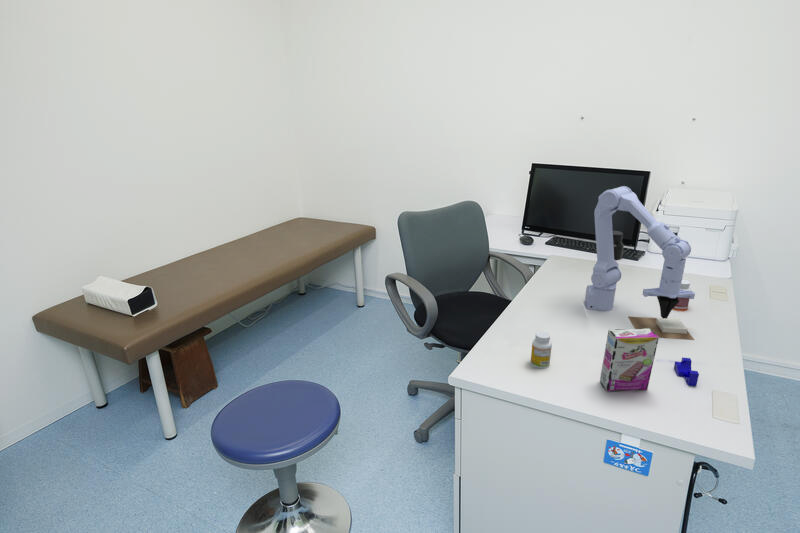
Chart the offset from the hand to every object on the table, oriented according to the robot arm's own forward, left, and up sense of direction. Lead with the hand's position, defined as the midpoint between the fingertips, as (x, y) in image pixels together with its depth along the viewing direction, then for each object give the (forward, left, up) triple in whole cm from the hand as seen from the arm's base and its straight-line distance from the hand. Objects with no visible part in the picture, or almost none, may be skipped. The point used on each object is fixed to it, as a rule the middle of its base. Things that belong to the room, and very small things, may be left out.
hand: (663, 317), depth 150 cm
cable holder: (-2, -27, -5) cm, 28 cm away
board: (-1, 0, -5) cm, 5 cm away
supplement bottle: (-41, -26, -5) cm, 49 cm away
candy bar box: (-20, -34, -5) cm, 40 cm away
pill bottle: (+10, +17, -5) cm, 21 cm away
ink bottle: (0, +72, -5) cm, 72 cm away
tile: (-1, 0, -3) cm, 3 cm away
